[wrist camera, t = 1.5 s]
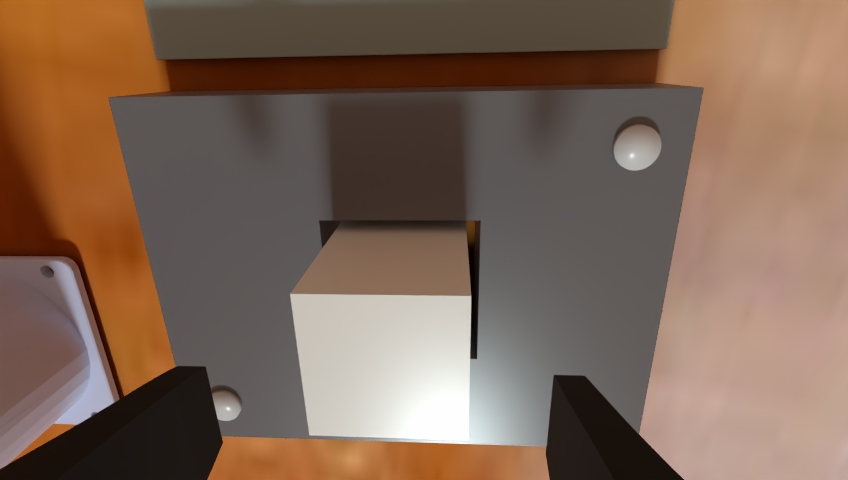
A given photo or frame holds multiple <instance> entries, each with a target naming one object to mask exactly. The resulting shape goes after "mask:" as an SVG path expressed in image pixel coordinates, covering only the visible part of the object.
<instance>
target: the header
mask: <svg viewBox="0 0 848 480" xmlns="http://www.w3.org/2000/svg"><path fill="white" fill-rule="evenodd" d="M703 89H704V88H702V87H691V86H681V85H671V84H661V83H626V84H567V85H509V86H451V87H392V88H334V89H276V90H217V91H168V92H158V93H148V94H138V95H128V96H118V97H108V98H109V102H110V106H111V110H112V114H113V118H114V122H115V126H116V130H117V134H118V138H119V142H120V146H121V150H122V154H123V158H124V162H125V166H126V170H127V174H128V178H129V182H130V186H131V190H132V194H133V198H134V202H135V206H136V210H137V214H138V218H139V222H140V226H141V230H142V234H143V238H144V242H145V246H146V250H147V254H148V258H149V262H150V265H151V269H152V273H153V277H154V281H155V285H156V289H157V293H158V297H159V301H160V305H161V309H162V313H163V317H164V321H165V325H166V329H167V333H168V337H169V341H170V345H171V349H172V353H173V357H174V361H175V365H176V367H177V366H206V370H207V374H208V378H209V383H210V387H211V392H212V396H213V401H214V405H215V410H216V414H217V419H218V423H219V427H220V432H221V436H234V437H266V438H298V439H330V440H362V441H394V442H426V443H458V444H490V445H522V446H547V437H548V427H549V417H550V407H551V397H552V386H553V376H554V375H582V376H586V377H587V378H588V379H589V381H590V382H591V383H592V384H593V385H594V386H595V387H596V388H597V389H598V390H599V391H600V393H601V394H602V395H603V396H604V397H605V398H606V399H607V400H608V401H609V403H610V404H611V405H612V406H613V407H614V408H615V409H616V410H617V411H618V412H619V414H620V415H621V416H622V417H623V418H624V419H625V420H626V421H627V422H628V423H629V424H630V425H631V427H632V428H633V429H634V430H635V431H636V432H637V433H638V434H639V431H640V425H641V420H642V415H643V409H644V404H645V399H646V393H647V388H648V383H649V377H650V372H651V367H652V361H653V356H654V351H655V345H656V340H657V335H658V329H659V324H660V319H661V313H662V308H663V302H664V297H665V292H666V286H667V281H668V276H669V270H670V265H671V260H672V254H673V249H674V244H675V238H676V233H677V228H678V222H679V217H680V212H681V206H682V201H683V196H684V190H685V185H686V179H687V174H688V169H689V163H690V158H691V153H692V147H693V142H694V137H695V131H696V126H697V121H698V115H699V110H700V105H701V99H702V94H703ZM342 220H388V221H476V222H475V268H474V313H471V338H470V389H469V440H439V439H407V438H375V437H343V436H311V435H309V429H308V422H307V415H306V407H305V400H304V393H303V385H302V378H301V371H300V364H299V356H298V349H297V342H296V334H295V327H294V320H293V312H292V305H291V298H290V293H291V292H292V290H293V289H294V288H295V286H296V285H297V283H298V282H299V281H300V279H301V278H302V276H303V275H304V274H305V272H306V271H307V269H308V268H309V266H310V265H311V264H312V262H313V261H314V259H315V258H316V257H317V255H318V254H319V252H320V251H321V250H322V248H323V247H324V245H325V244H326V243H327V241H328V240H329V238H330V237H331V236H332V234H333V233H334V231H335V230H336V229H337V227H338V226H339V224H340V223H341V222H342Z"/></svg>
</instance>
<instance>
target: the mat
mask: <svg viewBox="0 0 848 480" xmlns="http://www.w3.org/2000/svg"><path fill="white" fill-rule="evenodd" d="M144 4H145V9H146V13H147V18H148V23H149V28H150V32H151V37H152V42H153V47H154V52H155V56H156V60H170V59H217V58H263V57H309V56H355V55H401V54H448V53H494V52H540V51H586V50H632V49H667V44H668V37H669V31H670V24H671V18H672V11H673V5H674V0H144Z"/></svg>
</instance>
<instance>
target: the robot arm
mask: <svg viewBox="0 0 848 480" xmlns="http://www.w3.org/2000/svg"><path fill="white" fill-rule="evenodd" d="M49 267H50V268H52V270H53V271H54V272H52V271H51V270H50V268H49ZM52 424H78V425H76V426H74V427H73V428H71V429H70V430H68V431H66V432H64V433H63V434H61V435H59V436H57V437H56V438H54V439H52V440H50V441H49V442H47V443H45V444H43V445H42V446H40V447H38V448H36V449H35V450H33V451H31V452H29V453H27V454H26V455H24V456H22V457H20V458H19V459H17V460H15V461H13V462H12V463H10V462H11V461H12V460H13V459H14V458H16V457H17V456H18V455H19V454H20V453H21V452H22V451H23V450H24V449H26V448H27V447H28V446H29V445H30V444H31V443H32V442H33V441H34V440H36V439H37V438H38V437H39V436H40V435H41V434H42V433H43V432H44V431H46V430H47V429H48V428H49V427H50V426H51V425H52ZM222 443H223V441H222V436H221V432H220V427H219V423H218V419H217V414H216V410H215V405H214V401H213V396H212V392H211V387H210V383H209V378H208V374H207V370H206V366H177V367H175V368H173V369H171V370H169V371H167V372H165V373H163V374H161V375H160V376H158V377H156V378H154V379H153V380H151V381H149V382H148V383H146V384H144V385H142V386H141V387H139V388H137V389H136V390H134V391H132V392H131V393H129V394H128V395H126V396H124V397H123V398H121V399H119V395H118V392H117V389H116V386H115V383H114V379H113V376H112V373H111V370H110V367H109V363H108V360H107V357H106V354H105V351H104V347H103V344H102V341H101V338H100V335H99V331H98V328H97V325H96V322H95V319H94V315H93V312H92V309H91V306H90V303H89V299H88V296H87V293H86V290H85V287H84V283H83V280H82V277H81V274H80V271H79V268H78V266H77V264H76V263H75V262H74V261H73V260H72V259H70V258H68V257H63V256H0V480H207V479H208V476H209V474H210V472H211V470H212V467H213V465H214V463H215V460H216V458H217V455H218V453H219V451H220V448H221V446H222ZM546 458H547V464H548V471H549V477H550V480H684V479H683V478H682V477H681V476H680V475H679V474H678V473H677V472H675V471H674V470H673V469H672V468H671V467H670V466H669V465H668V464H667V463H666V462H665V461H664V460H663V459H662V458H661V456H660V455H659V454H658V453H657V452H656V451H655V450H654V449H653V448H652V447H651V446H650V445H649V444H648V443H647V442H646V441H645V440H644V439H643V438H642V437H641V436H640V435H639V434H638V433H637V432H636V431H635V430H634V429H633V428H632V427H631V425H630V424H629V423H628V422H627V421H626V420H625V419H624V418H623V417H622V416H621V415H620V414H619V412H618V411H617V410H616V409H615V408H614V407H613V406H612V405H611V404H610V403H609V401H608V400H607V399H606V398H605V397H604V396H603V395H602V394H601V393H600V391H599V390H598V389H597V388H596V387H595V386H594V385H593V384H592V383H591V382H590V381H589V379H588V378H587V377H586V376H582V375H554V376H553V386H552V397H551V407H550V417H549V427H548V437H547V448H546ZM9 463H10V464H9Z"/></svg>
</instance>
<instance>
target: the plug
mask: <svg viewBox="0 0 848 480" xmlns="http://www.w3.org/2000/svg"><path fill="white" fill-rule="evenodd" d="M290 298H291V305H292V312H293V320H294V327H295V334H296V342H297V349H298V356H299V364H300V371H301V378H302V385H303V393H304V400H305V407H306V415H307V422H308V429H309V435H311V436H343V437H375V438H407V439H439V440H469V389H470V338H471V285H470V271H469V258H468V244H467V231H466V221H388V220H342V222H341V223H340V224H339V226H338V227H337V229H336V230H335V231H334V233H333V234H332V236H331V237H330V238H329V240H328V241H327V243H326V244H325V245H324V247H323V248H322V250H321V251H320V252H319V254H318V255H317V257H316V258H315V259H314V261H313V262H312V264H311V265H310V266H309V268H308V269H307V271H306V272H305V274H304V275H303V276H302V278H301V279H300V281H299V282H298V283H297V285H296V286H295V288H294V289H293V290H292V292H291V293H290Z"/></svg>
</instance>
